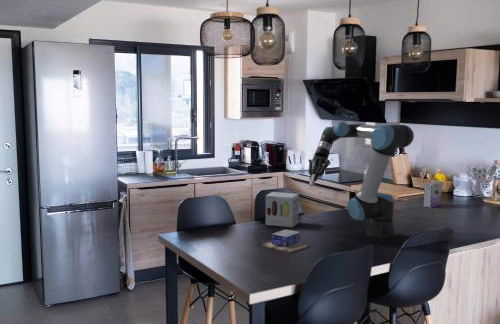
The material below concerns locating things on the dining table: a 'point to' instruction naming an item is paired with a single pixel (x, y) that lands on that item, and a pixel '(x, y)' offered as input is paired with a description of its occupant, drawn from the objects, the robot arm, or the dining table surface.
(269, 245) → the board
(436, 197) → the candy box
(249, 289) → the dining table surface
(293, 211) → the supplement box
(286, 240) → the ink cartridge box
